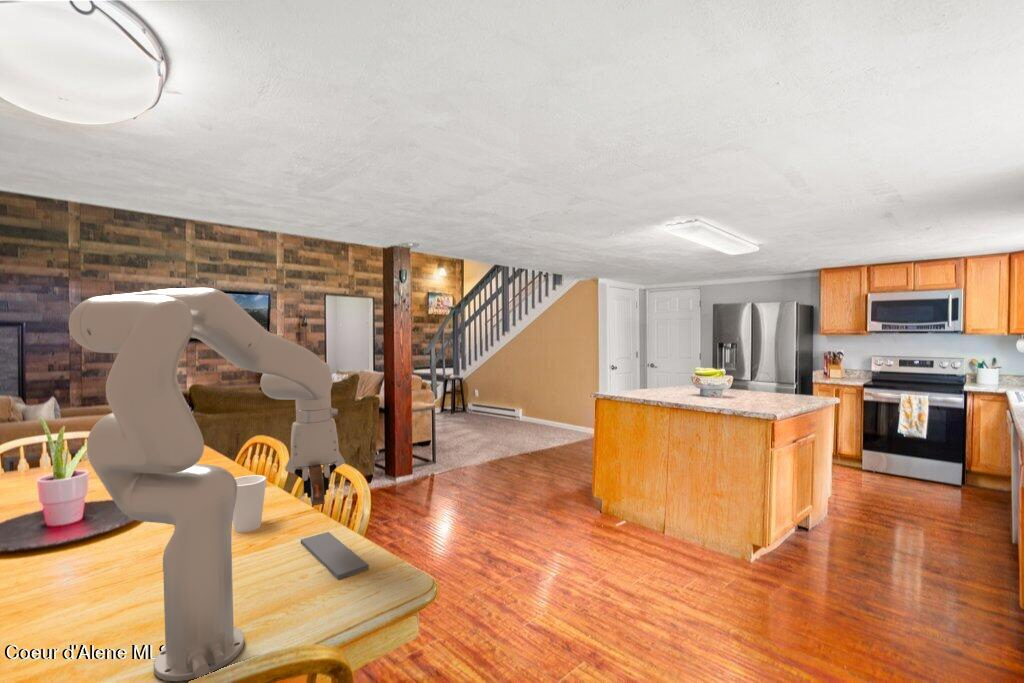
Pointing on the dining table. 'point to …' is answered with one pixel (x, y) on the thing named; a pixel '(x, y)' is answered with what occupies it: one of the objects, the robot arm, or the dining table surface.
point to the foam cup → (249, 503)
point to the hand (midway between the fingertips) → (316, 493)
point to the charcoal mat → (334, 555)
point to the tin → (316, 485)
